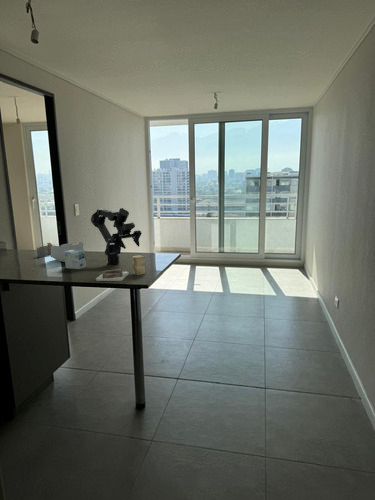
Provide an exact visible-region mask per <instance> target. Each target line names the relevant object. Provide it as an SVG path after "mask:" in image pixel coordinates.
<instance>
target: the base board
mask: <svg viewBox="0 0 375 500" xmlns="http://www.w3.org/2000/svg"><path fill="white" fill-rule="evenodd" d="M122 274H123V277H114V278H103V273H102V274H100V275H99V276H97V277H96V278H95V281H96V282H100V281H101V282H103V281H105V282H122V281H123V280H124V279H126V278H127V276H128V275H129V274H130V272H129V271H122Z"/></svg>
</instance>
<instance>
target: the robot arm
mask: <svg viewBox="0 0 375 500" xmlns="http://www.w3.org/2000/svg"><path fill="white" fill-rule="evenodd" d="M129 215H130V212H129V211H128V210H126V209H125V208H123V207H121V208H120V207H119V210H116V211H115V210H114V211H112V210H108V209H105V208H100V209H99V208H98V209H97V210H96V211H95V212H94V213H93V214H92V215H91V218H90V223H91V224H92V225H93V227H95V228H97V229H98V230H99V232H100V234H101V236H102V238H103V240H104V241H105V243H106V244H105V245H106V246H105V250H104V254H105V255H106V257H107V266H108V265H109V266H110V265H118V264H119V263H120V255H119V254H121V250H122V248H123V249H124V250H125V249H126V248H127V247H126V244H125V243H124V241H123V240H122V239H129V238H132V240H133V242H134V244H135V245H136V246H137V247H140V238H141V236H142V231H141V230H134V231H133V232H132V230H133V229H134V228H135V227H136V224H135V223H134V222H132V221H131V222H130V223H126V221H127V219H128V218H129ZM106 218H107V219H108V220H109V221H110V222H113V225H112V226H113V228H116V230H117V233H112V234H111V233H110V231H109V229H108V227H107V226H106V224H105V222H106Z"/></svg>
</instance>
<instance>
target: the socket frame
mask: <svg viewBox="0 0 375 500" xmlns="http://www.w3.org/2000/svg"><path fill="white" fill-rule="evenodd" d="M122 272H123V269H111V270H103V271H102V274H103V278H114V277H123V274H122Z"/></svg>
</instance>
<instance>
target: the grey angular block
mask: <svg viewBox="0 0 375 500" xmlns="http://www.w3.org/2000/svg"><path fill="white" fill-rule="evenodd" d="M69 250H84V251H85V247H84V242H83V241H79V242H78V244H73V243H70V242H69V243H63V244H61V245H53V246H51V255H50V257H51V258H53V259H54V260H56V261H59V262H61V263H62V262H63V263H65V256H64V252H65V251H69Z"/></svg>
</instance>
